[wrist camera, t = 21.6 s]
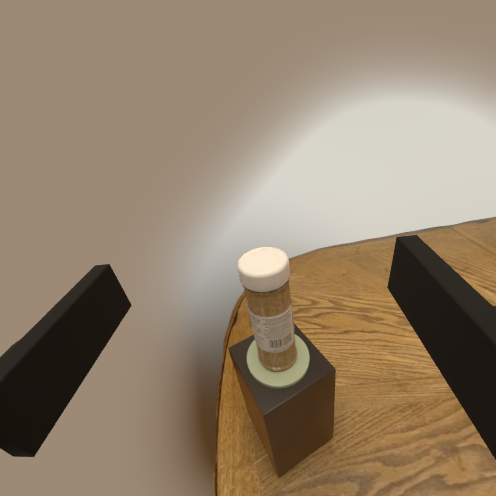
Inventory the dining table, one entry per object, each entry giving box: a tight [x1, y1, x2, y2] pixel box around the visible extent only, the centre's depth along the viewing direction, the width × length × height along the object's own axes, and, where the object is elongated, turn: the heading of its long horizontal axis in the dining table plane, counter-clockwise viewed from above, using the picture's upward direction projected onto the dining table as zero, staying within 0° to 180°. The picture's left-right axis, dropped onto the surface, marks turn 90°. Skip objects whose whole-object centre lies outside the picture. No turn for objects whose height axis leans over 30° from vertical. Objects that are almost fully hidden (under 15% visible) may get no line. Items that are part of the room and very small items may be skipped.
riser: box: [229, 324, 336, 477], centre depth 33 cm, size 9×9×16 cm
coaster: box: [247, 334, 310, 389], centre depth 29 cm, size 7×7×1 cm
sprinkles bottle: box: [238, 247, 297, 371], centre depth 25 cm, size 5×5×14 cm
